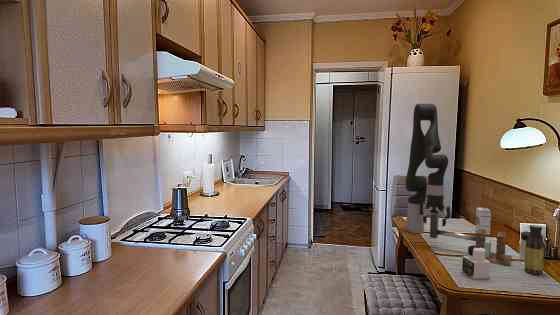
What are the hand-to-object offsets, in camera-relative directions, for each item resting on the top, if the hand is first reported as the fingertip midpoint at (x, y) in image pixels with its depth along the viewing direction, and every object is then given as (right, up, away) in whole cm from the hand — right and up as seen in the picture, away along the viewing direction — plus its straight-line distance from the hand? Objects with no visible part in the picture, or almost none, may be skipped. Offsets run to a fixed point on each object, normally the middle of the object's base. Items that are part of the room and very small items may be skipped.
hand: (434, 224), depth 164 cm
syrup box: (+39, -10, +23) cm, 46 cm away
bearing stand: (+19, -13, -14) cm, 27 cm away
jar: (+37, -13, -16) cm, 42 cm away
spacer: (+18, -12, -13) cm, 26 cm away
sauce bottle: (+28, -14, -29) cm, 43 cm away
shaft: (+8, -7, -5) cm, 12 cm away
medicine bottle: (+2, -15, -32) cm, 35 cm away
